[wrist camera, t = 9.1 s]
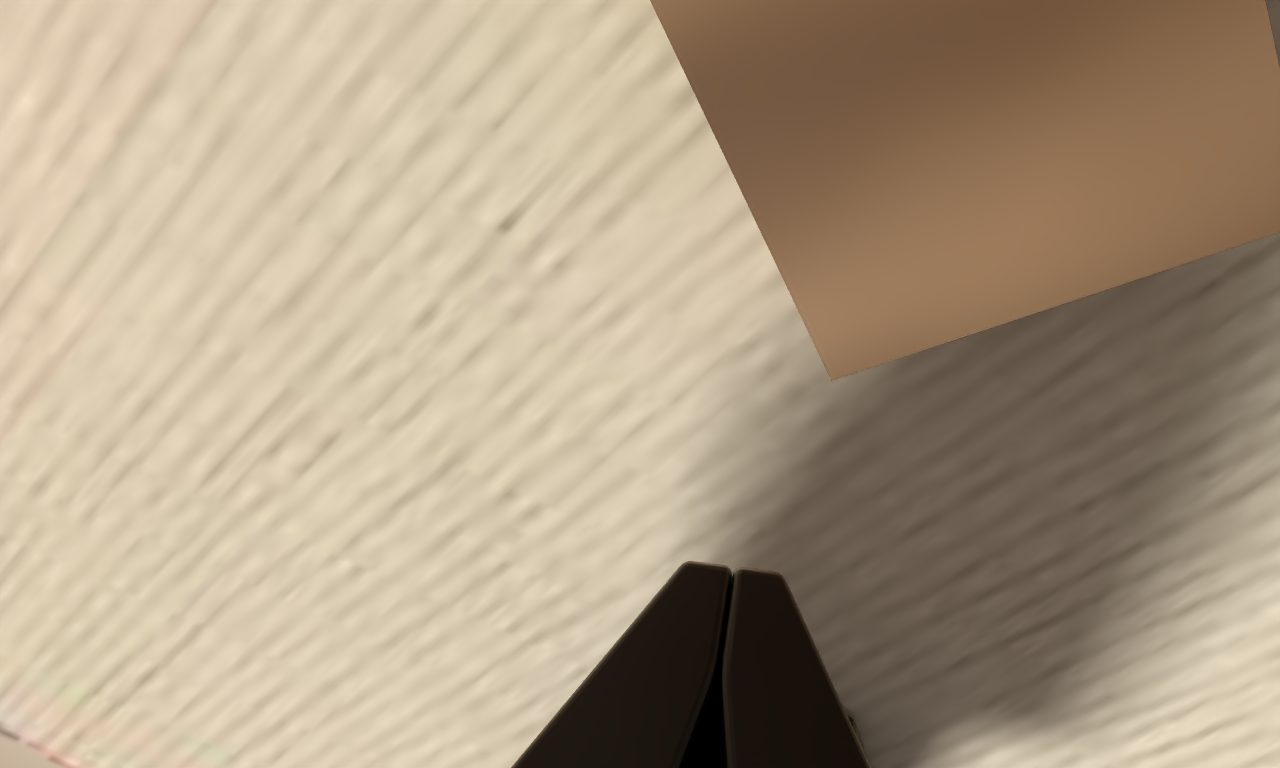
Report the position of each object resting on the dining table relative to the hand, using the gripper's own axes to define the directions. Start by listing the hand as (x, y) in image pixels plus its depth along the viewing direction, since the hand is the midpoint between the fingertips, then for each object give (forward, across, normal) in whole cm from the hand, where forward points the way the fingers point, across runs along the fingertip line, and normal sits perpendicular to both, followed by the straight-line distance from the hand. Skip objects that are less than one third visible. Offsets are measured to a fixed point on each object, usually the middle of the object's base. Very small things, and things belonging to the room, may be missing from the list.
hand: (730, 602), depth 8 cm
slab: (+11, -2, -3) cm, 12 cm away
